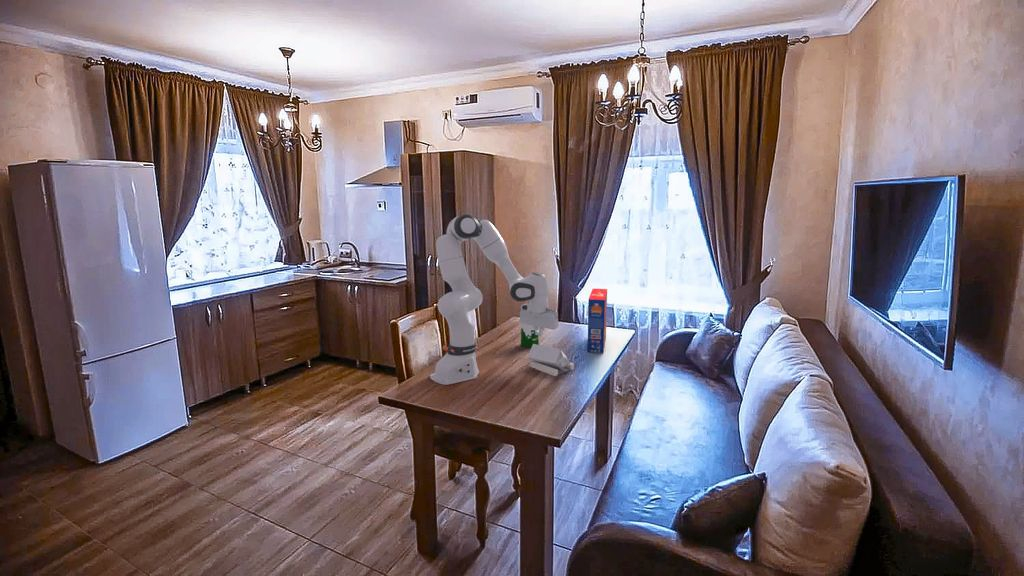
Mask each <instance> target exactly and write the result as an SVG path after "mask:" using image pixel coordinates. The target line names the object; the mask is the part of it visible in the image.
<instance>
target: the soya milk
mask: <svg viewBox="0 0 1024 576" xmlns="http://www.w3.org/2000/svg"><path fill="white" fill-rule="evenodd" d="M537 328H538V329H539V327H537ZM539 343H540V342H539V336H538V335H535V330H534V328H533V326H532V325H527V324H522V323H521V322H520V347H525V348H528V349H531V348H532V345H533V344H536V345H540V344H539Z"/></svg>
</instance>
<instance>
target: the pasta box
mask: <svg viewBox="0 0 1024 576" xmlns="http://www.w3.org/2000/svg"><path fill="white" fill-rule="evenodd" d="M589 294H590V295H589V296H588V304H587V305H588V307H587V308H588V309H587V311H588V312H587V313H588V316H587V318H588V320H587V354H589V353H592V354H604V352H605V346H606V340H607V313H608V312H607V310H608V308H607V307H608V289H607V288H592V290H591V291H590V293H589Z"/></svg>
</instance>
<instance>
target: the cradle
mask: <svg viewBox="0 0 1024 576" xmlns="http://www.w3.org/2000/svg"><path fill="white" fill-rule="evenodd" d="M570 363H571V364H568V365H567V366H565V367H564V368H562V369H557V368H553V367H549V366H546V365H543V364H540V363H537V362H535V361H531V360H530V361H529V367H530V368H531V367H532V368H531V369H534V368H535V370H537V371H540V372H542V373H545V374H548V375H551V376H553V377H556V376H559V375H562V374H564V373H567V372H570V371H572V370H574V369H575V363H572V362H570Z"/></svg>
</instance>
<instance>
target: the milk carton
mask: <svg viewBox="0 0 1024 576" xmlns="http://www.w3.org/2000/svg"><path fill="white" fill-rule="evenodd" d="M528 353H529V354H528V356H527V359H528V360H530V362H531V361H535V362H537V363H540V364H543V365H546V366H549V367H553V368H557V369H562V368H564V367H565V366H567V365H568V364H571V363H572V362H571V361H569V359H568V358H567V355H566V354H565V353H564V352H563V351H562V349H560V348H556V347H550V346H545V345H540V344H539V345H536V344H533V345H532V348H530V351H529V352H528Z"/></svg>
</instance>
